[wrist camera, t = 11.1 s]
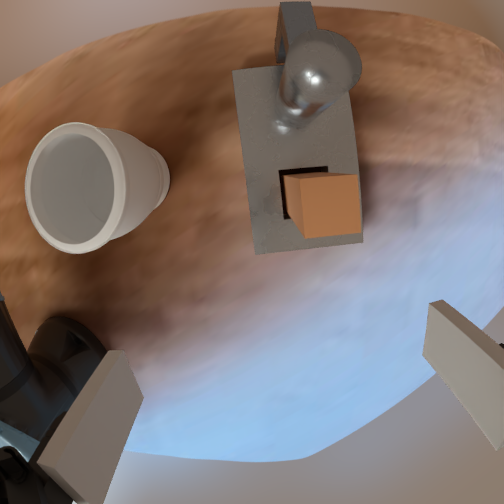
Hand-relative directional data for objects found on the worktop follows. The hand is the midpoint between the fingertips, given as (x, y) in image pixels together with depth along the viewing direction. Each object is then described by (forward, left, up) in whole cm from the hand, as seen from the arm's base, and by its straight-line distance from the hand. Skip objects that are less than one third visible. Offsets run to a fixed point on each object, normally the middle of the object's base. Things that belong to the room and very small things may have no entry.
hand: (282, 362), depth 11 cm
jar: (-14, +9, -25) cm, 30 cm away
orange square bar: (+4, +5, -25) cm, 26 cm away
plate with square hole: (+5, +10, -25) cm, 27 cm away
